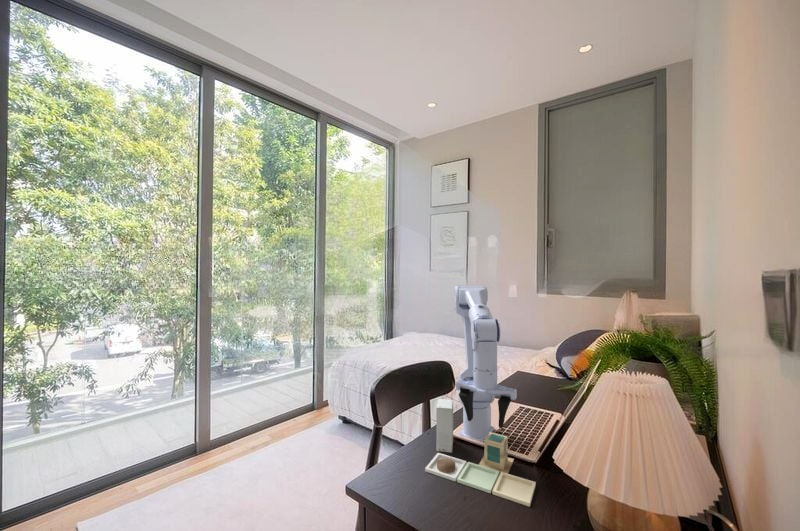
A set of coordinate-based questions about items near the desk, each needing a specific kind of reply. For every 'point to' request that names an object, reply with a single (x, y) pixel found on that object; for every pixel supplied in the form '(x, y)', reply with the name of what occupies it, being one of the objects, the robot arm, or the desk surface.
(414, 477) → the desk surface
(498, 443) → the beige block teal panels
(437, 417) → the skincare box
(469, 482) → the tray sage
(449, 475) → the tray white
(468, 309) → the robot arm
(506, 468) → the cork pad
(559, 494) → the desk surface
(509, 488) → the tray sand
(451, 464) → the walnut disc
